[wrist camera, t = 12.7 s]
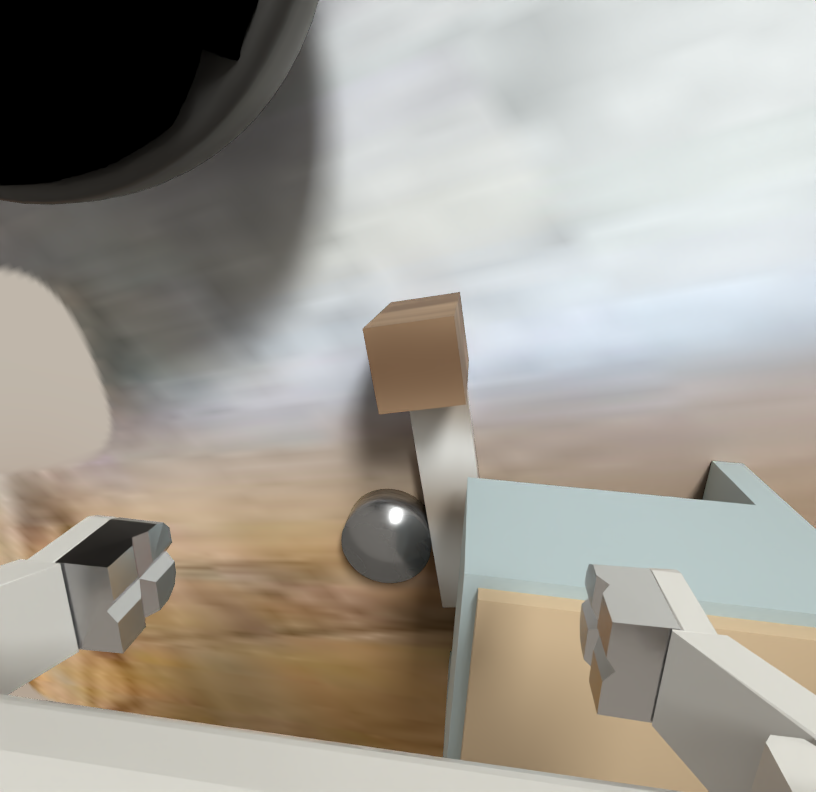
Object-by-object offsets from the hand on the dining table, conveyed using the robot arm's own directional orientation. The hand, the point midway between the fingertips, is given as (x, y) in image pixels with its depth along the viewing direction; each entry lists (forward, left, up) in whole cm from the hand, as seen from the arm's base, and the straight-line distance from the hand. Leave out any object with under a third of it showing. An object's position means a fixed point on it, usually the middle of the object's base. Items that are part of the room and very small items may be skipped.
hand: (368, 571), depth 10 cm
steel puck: (+11, -2, -18) cm, 21 cm away
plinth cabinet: (+13, +9, -18) cm, 24 cm away
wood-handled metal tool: (+6, +1, -18) cm, 19 cm away
